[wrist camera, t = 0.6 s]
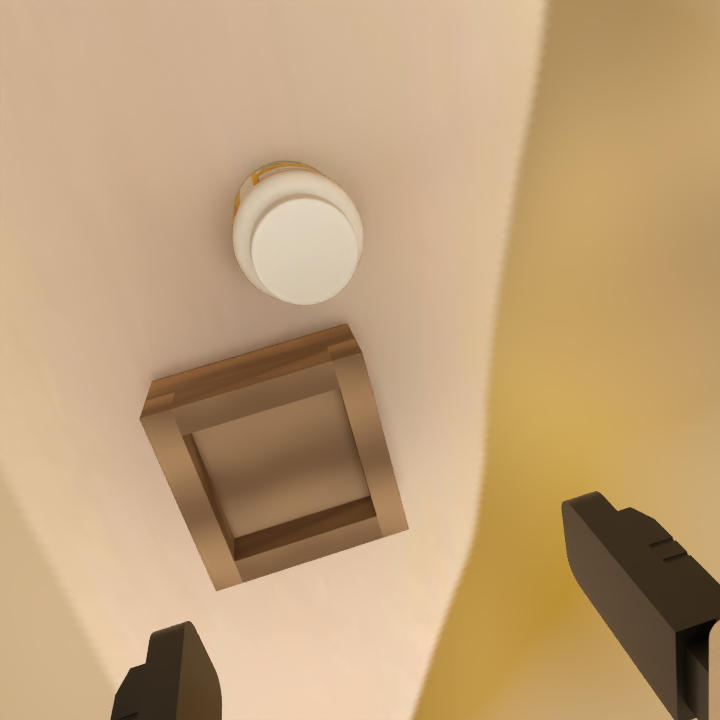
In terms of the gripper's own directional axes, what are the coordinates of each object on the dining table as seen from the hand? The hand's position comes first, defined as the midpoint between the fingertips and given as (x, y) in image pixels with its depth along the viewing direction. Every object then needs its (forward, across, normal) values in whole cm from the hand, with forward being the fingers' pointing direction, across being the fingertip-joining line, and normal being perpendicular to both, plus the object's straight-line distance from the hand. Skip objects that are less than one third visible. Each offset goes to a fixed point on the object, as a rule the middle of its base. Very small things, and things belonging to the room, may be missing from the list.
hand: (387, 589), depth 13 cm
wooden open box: (+22, +3, +8) cm, 24 cm away
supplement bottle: (+22, -1, -4) cm, 23 cm away
